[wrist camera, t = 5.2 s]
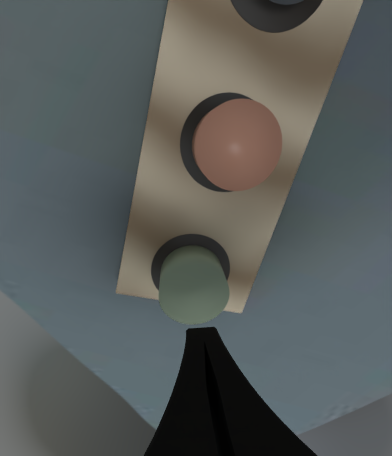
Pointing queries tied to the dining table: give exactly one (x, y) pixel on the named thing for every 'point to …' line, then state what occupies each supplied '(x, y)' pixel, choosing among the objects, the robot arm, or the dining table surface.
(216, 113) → the terracotta button
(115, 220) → the dining table surface
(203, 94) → the button panel
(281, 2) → the slate button
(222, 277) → the sage button
